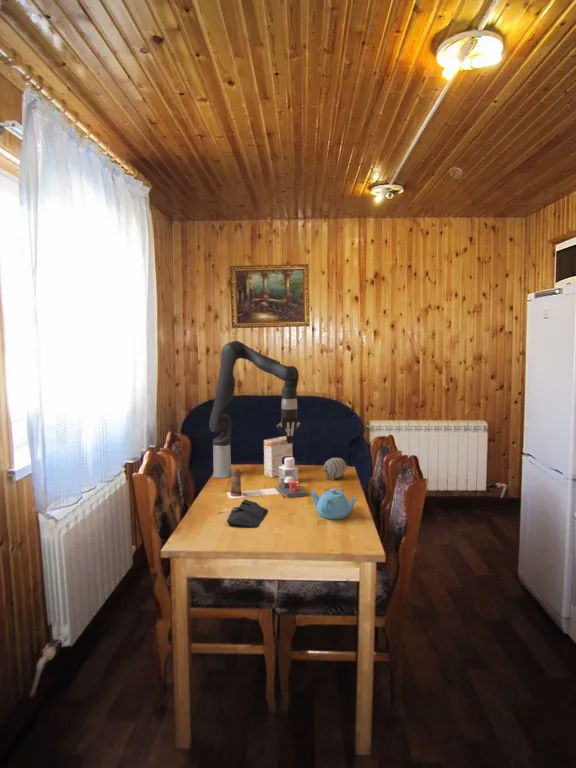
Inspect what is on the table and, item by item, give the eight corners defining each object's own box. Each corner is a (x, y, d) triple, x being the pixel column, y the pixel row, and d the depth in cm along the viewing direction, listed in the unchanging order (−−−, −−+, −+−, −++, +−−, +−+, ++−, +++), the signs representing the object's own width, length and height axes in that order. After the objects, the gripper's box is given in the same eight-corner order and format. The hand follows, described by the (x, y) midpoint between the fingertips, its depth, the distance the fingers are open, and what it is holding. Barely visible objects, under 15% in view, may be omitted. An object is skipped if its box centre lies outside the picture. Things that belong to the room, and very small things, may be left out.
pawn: (229, 493, 226) (229, 467, 225) (240, 492, 227) (240, 466, 226) (231, 496, 221) (230, 469, 220) (242, 495, 222) (242, 468, 221)
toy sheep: (352, 477, 255) (352, 457, 254) (331, 484, 244) (331, 462, 243) (337, 473, 263) (337, 453, 262) (316, 480, 251) (316, 459, 251)
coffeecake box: (284, 470, 271) (284, 435, 270) (293, 472, 266) (293, 437, 264) (263, 475, 262) (263, 439, 260) (271, 477, 256) (271, 441, 255)
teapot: (309, 510, 206) (309, 485, 205) (341, 506, 211) (342, 482, 210) (322, 523, 192) (322, 496, 191) (357, 518, 196) (357, 492, 195)
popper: (278, 488, 238) (278, 475, 237) (296, 486, 240) (296, 474, 240) (287, 497, 223) (287, 485, 222) (306, 496, 225) (306, 483, 225)
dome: (282, 483, 237) (282, 476, 237) (293, 482, 239) (293, 475, 238) (285, 487, 232) (285, 479, 231) (296, 486, 233) (296, 478, 233)
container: (278, 480, 251) (278, 456, 249) (291, 478, 254) (291, 454, 253) (284, 484, 244) (284, 459, 242) (298, 482, 247) (298, 457, 246)
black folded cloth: (220, 527, 189) (220, 516, 188) (234, 508, 210) (234, 498, 210) (259, 529, 186) (258, 517, 186) (269, 510, 208) (269, 499, 208)
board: (222, 493, 231) (222, 490, 230) (275, 488, 238) (275, 485, 238) (228, 503, 215) (228, 501, 215) (284, 498, 222) (284, 495, 222)
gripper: (300, 406, 237) (300, 441, 239) (274, 407, 234) (274, 442, 235) (304, 408, 230) (305, 444, 232) (278, 409, 227) (278, 445, 228)
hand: (289, 443), depth 234 cm, fingers closed
